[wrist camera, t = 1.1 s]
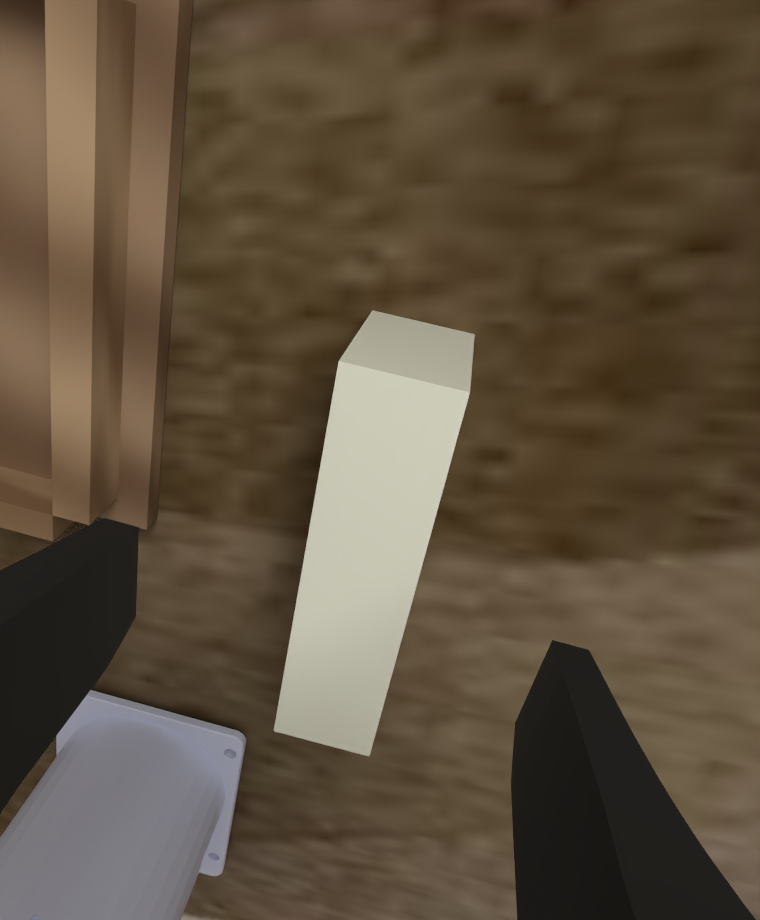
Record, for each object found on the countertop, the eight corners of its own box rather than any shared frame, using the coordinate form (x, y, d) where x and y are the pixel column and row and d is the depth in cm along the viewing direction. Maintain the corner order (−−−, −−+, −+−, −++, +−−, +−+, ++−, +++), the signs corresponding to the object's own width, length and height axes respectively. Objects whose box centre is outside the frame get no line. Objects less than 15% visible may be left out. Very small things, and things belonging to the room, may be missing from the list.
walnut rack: (156, 517, 24) (120, 559, 21) (-86, 453, 24) (-148, 487, 22) (195, -29, 16) (146, -56, 14) (-154, -112, 17) (-258, -151, 14)
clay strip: (391, 644, 25) (369, 756, 20) (312, 624, 25) (273, 731, 20) (474, 332, 19) (469, 392, 15) (373, 309, 20) (338, 361, 15)
